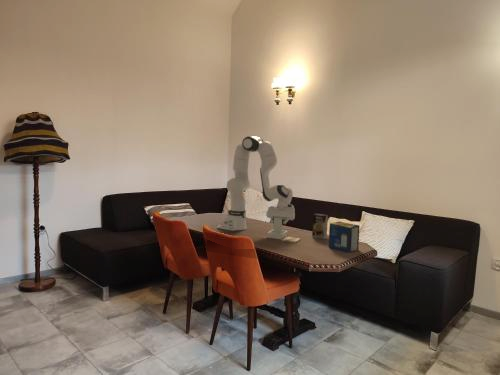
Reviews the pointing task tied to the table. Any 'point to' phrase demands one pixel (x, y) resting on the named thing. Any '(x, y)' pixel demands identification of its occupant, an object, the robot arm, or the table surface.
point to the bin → (276, 235)
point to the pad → (291, 239)
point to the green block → (277, 225)
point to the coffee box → (320, 226)
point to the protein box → (344, 236)
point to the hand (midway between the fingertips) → (277, 223)
